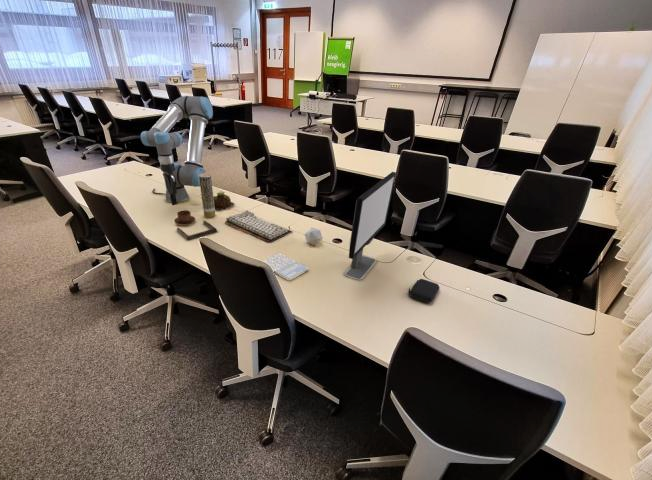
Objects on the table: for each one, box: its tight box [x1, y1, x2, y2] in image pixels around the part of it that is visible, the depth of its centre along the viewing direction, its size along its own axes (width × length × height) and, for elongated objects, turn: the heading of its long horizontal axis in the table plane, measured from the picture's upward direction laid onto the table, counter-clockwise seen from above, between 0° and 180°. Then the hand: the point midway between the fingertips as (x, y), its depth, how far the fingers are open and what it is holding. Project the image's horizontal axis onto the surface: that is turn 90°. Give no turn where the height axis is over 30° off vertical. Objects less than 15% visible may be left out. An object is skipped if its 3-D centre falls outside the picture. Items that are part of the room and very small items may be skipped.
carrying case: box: [407, 278, 441, 304], centre depth 141 cm, size 11×3×15 cm
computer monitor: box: [344, 171, 397, 281], centre depth 146 cm, size 41×8×40 cm, turn 148°
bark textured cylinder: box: [199, 172, 216, 219], centre depth 194 cm, size 7×7×25 cm
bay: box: [176, 220, 218, 241], centre depth 183 cm, size 14×17×2 cm
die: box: [304, 226, 323, 247], centre depth 174 cm, size 8×9×10 cm
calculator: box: [262, 252, 309, 281], centre depth 155 cm, size 13×20×2 cm, turn 47°
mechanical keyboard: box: [224, 210, 293, 243], centre depth 189 cm, size 38×19×3 cm, turn 50°
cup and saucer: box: [173, 209, 196, 226], centre depth 191 cm, size 12×12×6 cm
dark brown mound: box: [213, 190, 235, 211], centre depth 212 cm, size 17×16×10 cm
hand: (174, 204), depth 196 cm, fingers closed
